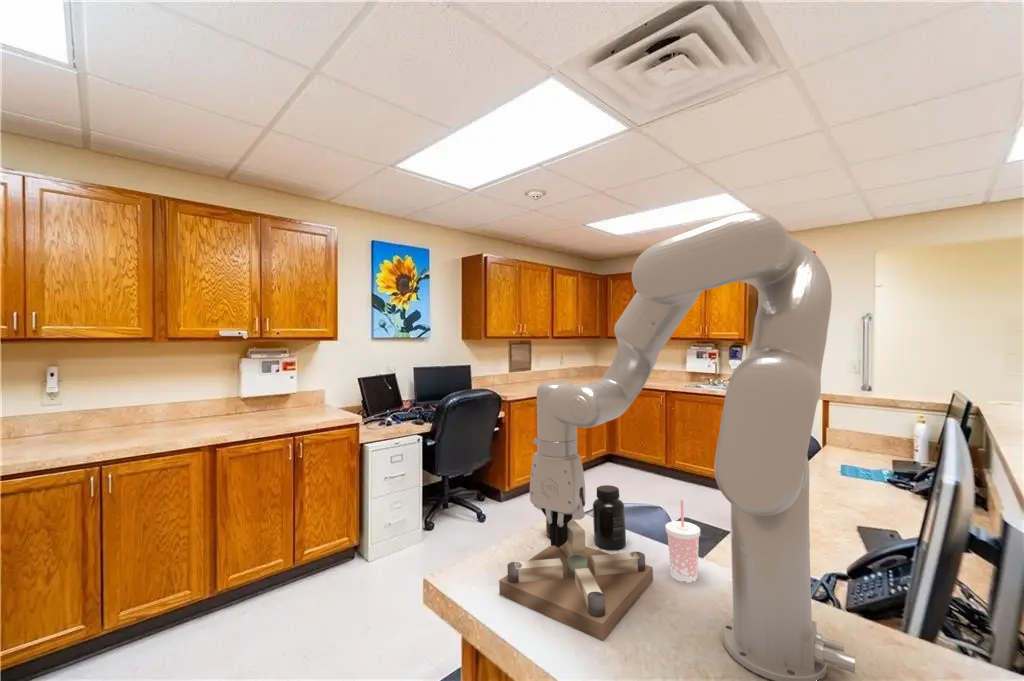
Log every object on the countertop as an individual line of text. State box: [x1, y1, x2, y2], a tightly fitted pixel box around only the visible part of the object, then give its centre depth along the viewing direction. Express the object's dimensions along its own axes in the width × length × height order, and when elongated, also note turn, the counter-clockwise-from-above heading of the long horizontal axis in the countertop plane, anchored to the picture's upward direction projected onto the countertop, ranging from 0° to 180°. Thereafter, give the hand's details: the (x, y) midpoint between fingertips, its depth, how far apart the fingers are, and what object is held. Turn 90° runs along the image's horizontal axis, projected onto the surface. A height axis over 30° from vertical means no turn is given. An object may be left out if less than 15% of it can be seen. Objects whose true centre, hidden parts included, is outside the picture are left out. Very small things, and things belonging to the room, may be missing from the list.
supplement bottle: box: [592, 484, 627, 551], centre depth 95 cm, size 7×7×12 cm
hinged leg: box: [560, 519, 586, 558], centre depth 86 cm, size 10×3×6 cm, turn 15°
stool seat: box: [498, 544, 654, 641], centre depth 78 cm, size 20×20×5 cm
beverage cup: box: [664, 499, 701, 583], centre depth 81 cm, size 6×6×14 cm
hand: (558, 543), depth 82 cm, fingers closed
